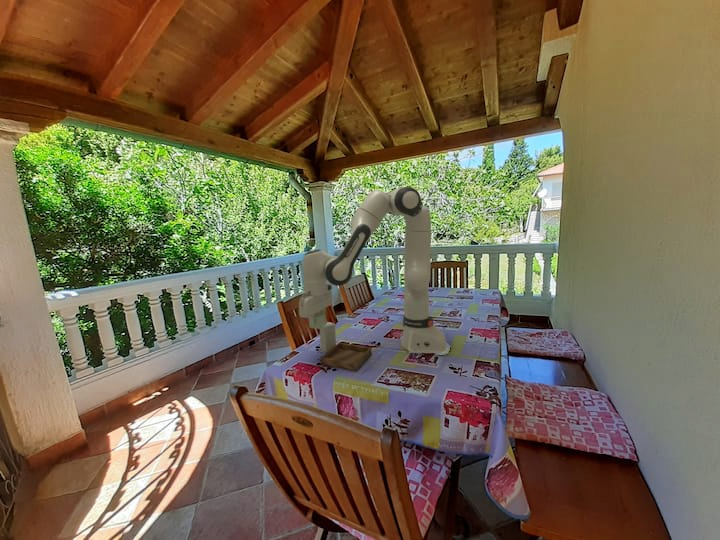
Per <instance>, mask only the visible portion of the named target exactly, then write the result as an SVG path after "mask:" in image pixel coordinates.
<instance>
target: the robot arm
mask: <svg viewBox="0 0 720 540" xmlns="http://www.w3.org/2000/svg"><path fill="white" fill-rule="evenodd" d="M387 214H389V215H392V216H403V219H404V221H405V232H404V233H405V234H404V267H403V268H404V269H403V270H404V271H403V272H404V273H403V283H404V284H403V286H404V287H403V290H404V291H403V292H404V293H403V295H404V297H403V299H404V300H403V301H404V302H403V303H404V305H403V309H404V311H403V312H404V313H403V317H402V327H403V332H402V333H403V334H402V339H401V342H400V346H401V348H403V350H406V351H407V350H408V351H409V352H410V353H409V352H408V351H407V352H408V353H409V354H411V353H435V354H441V353H442V352H444V351H445V350H446V348H447V349H448V347H447V344H446V341H447V339H446V336H445V333H444V332H443V331H442V330H441V329H439V328H438V327H437V326H435V325H434V317H431V316H430V314H429V313H430V298H429V297H430V296H429V295H430V294H429V293H430V292H429V290H430V289H429V284H430V281H431V271H432V270H431V246H432V245H431V239H432V221H431V220H432V218H431V213H430V209H429V207H427V206H425V205H424V204H423V201H422V198H421V195H420V193H419V191H418V190H417V189H416V188H414V187H411V186H403V187H398V188H396V189H394V190H392V191H389V192H387V193H385V191H382V190H379V189H377V190H375V189H374V190H372V191H371V192H370V193H369V194H368V195H366V197H365V199H364V200H363V201H362V202H361V204H360V205H359V207H358V208H357V210H356V211H355V212H354V215H353V217H352V219H351V222H350V225H351V226H350V227H351V232H350V233H351V234H350V237H349V238H348V241H347V243H346V245H345V246H344V248H343V249H342V251H341V253H340V254H339V255H338V256H335V255H332V254H329V253H328V252H325V251H323V250H322V249H314V250H310V251H307V252H305V254H304V255H303V258H302V259H303V260H302V272H303V275H304V281H303V287H304V293H303V294H301V296H300V299H299V301H298V314H299V317H300V318H305V319H308V320H309V319H310V323H311V324H315V323H316V319H314V314H315V313H325V312H326V308H327V307H329V306H332V303H333V293H332V292H333V291H332V289H333V286H337V287H338V286H339V287H340V286H341V287H342V286H344V285H346V284H347V283H349V281H350V280H351V278H352V276H353V269H354V266H355V263H356V261H357V260H358V258H359V255H360V254H361V252H362V251H363V249H364V247H365V246H366V244H367V242H368V240H370V239H371V237H372V235H373V234H374V233H375V232H376V230H377V229H378V228H379V226H380V224H381V223H382V221H383V220H384V218H385V217H386V216H387ZM326 280H327V281H328V282H329V283H330V284H328V283H327V282H326ZM325 314H326V313H325ZM446 351H447V350H446ZM442 354H444V353H442Z"/></svg>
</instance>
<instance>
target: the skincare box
mask: <svg viewBox="0 0 720 540" xmlns="http://www.w3.org/2000/svg"><path fill="white" fill-rule="evenodd" d="M336 335H337V334H336V323H333V322H331V321H329V322H328V321H327V322H326V325H325V326H323V327H322V328H320V329H319V338H320V339H319V342H320V351H322V352H324V353H327V352H328V351H330V350H331V349H332V348H333V347H334V346H336V345H337V340H336V339H337V337H336Z"/></svg>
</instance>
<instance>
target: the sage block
mask: <svg viewBox="0 0 720 540" xmlns="http://www.w3.org/2000/svg"><path fill="white" fill-rule="evenodd" d="M314 319H316V323H315V324H311V323H310V319H309V318H308V325H309V326H308V328H311V329H317V330H318V329H319V330H320V328H322V327H323V326H325V325H326V323H327V321H326V320H327V319H326V313H320V312H317V313H315V314H314Z"/></svg>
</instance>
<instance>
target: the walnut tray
mask: <svg viewBox="0 0 720 540" xmlns="http://www.w3.org/2000/svg"><path fill="white" fill-rule="evenodd" d="M372 349H373V348H372V347H368V346H363V345H362V346H361V345H355V344H352V343H351V344H350V343H343V342H338V343H336V346H334V347H333V348H332V349H331V350H330V351H328V352H325V353H324V354H323V355H322V356H321V357H320V365H322V366H328V367H331V368H335V369H340V368H341V370H346V371H352V372H356V373H357V372H358V370H360V368H361V367H362V366H363V365H364V364H365V363H366V361H367V360H369V358H370V357H371V356H372V355H373V354H372V353H373V352H372V351H373V350H372Z"/></svg>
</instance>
